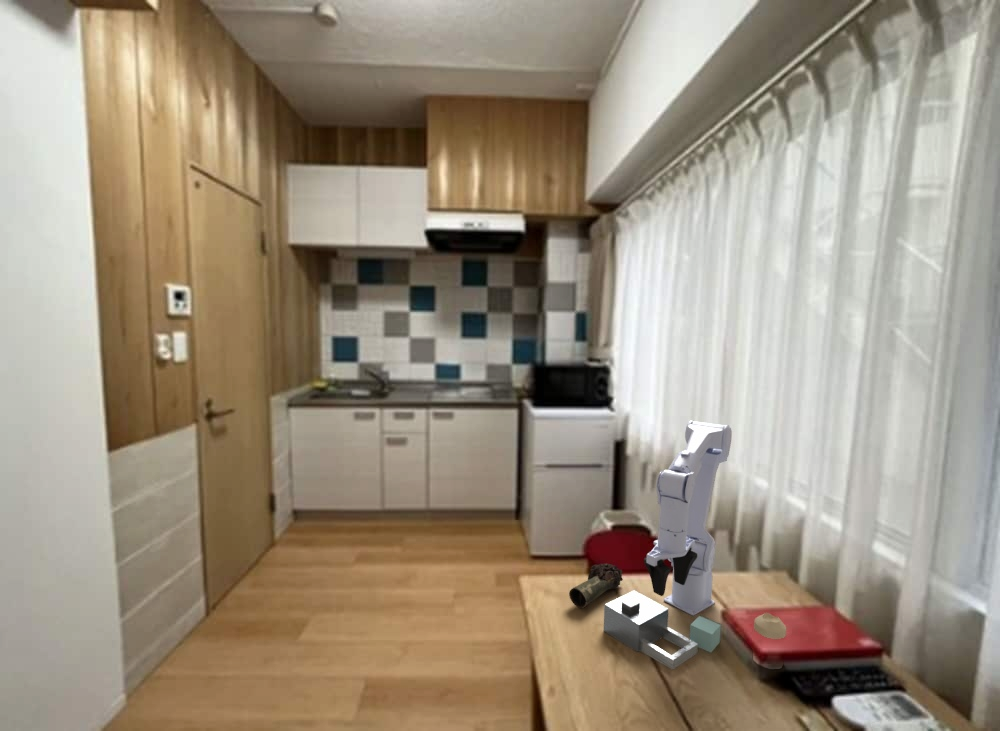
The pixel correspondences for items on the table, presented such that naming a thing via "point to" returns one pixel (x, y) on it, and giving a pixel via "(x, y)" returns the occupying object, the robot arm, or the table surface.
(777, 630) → the candle
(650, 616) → the silver box with frame
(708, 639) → the mint cube
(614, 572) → the olive hollow tube
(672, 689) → the table surface
